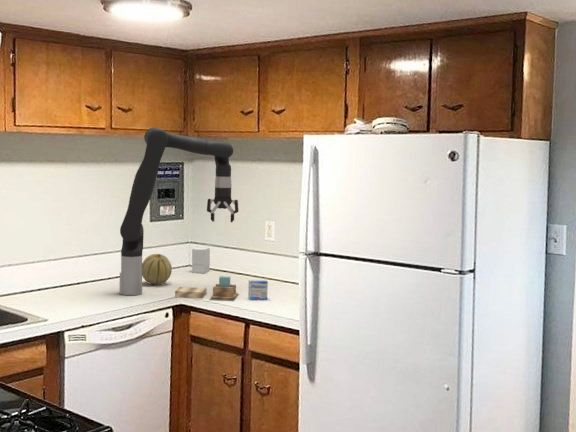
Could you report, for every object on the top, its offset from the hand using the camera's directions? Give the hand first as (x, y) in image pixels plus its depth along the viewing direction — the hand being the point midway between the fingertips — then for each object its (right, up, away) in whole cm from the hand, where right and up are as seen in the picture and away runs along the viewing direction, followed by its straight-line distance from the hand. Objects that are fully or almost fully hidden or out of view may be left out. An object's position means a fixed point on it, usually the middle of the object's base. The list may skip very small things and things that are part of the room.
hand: (222, 221), depth 349 cm
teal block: (+2, -32, -12) cm, 34 cm away
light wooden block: (-13, -33, -11) cm, 37 cm away
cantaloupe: (-33, -30, +15) cm, 47 cm away
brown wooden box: (+2, -33, -12) cm, 35 cm away
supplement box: (-16, -27, +51) cm, 60 cm away
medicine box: (+17, -34, -14) cm, 41 cm away
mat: (+2, -34, -12) cm, 36 cm away
